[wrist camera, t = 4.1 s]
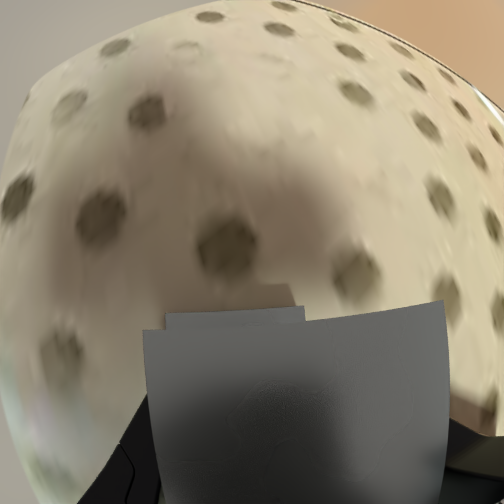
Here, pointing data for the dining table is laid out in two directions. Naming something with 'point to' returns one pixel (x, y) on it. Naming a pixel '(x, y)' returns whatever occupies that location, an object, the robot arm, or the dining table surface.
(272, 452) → the bracket post
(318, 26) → the dining table surface
